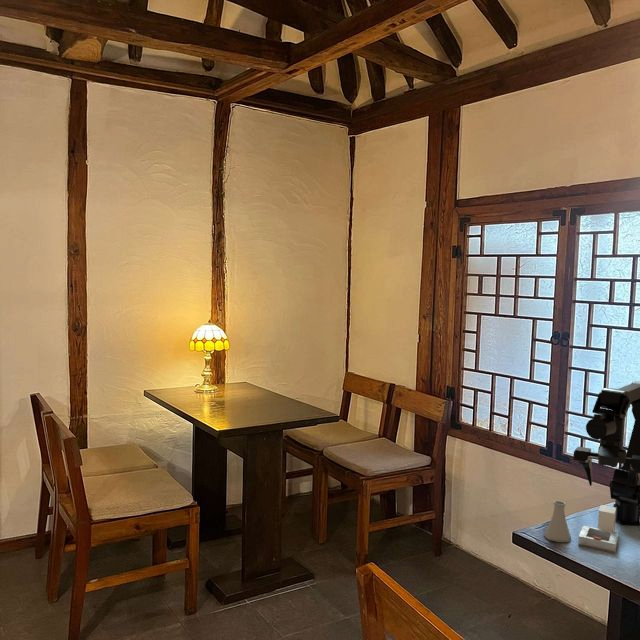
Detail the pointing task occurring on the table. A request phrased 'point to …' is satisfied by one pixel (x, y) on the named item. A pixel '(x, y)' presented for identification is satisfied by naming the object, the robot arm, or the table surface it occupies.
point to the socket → (598, 539)
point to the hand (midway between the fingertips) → (608, 488)
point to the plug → (607, 518)
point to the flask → (558, 525)
